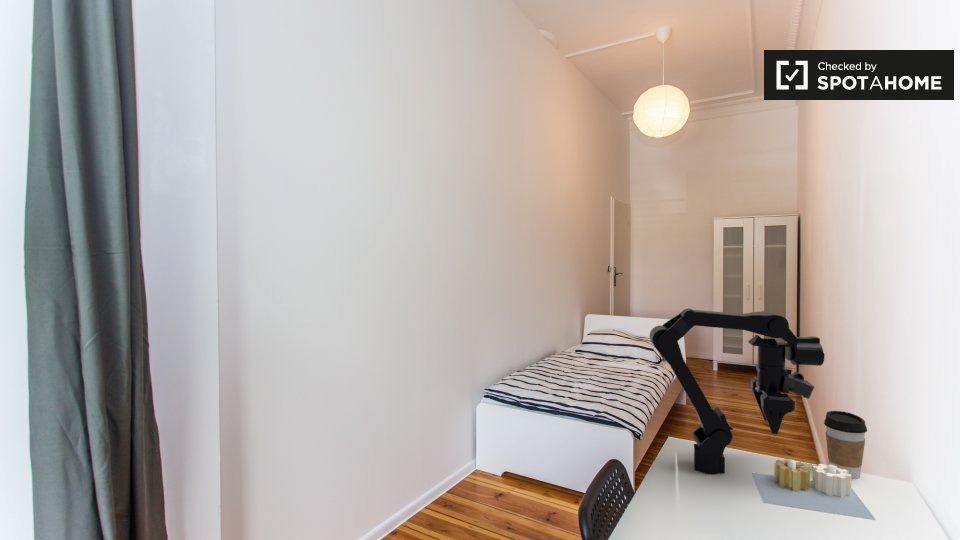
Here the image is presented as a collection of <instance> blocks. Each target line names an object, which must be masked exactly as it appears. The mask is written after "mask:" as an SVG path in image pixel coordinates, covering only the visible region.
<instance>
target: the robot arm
mask: <svg viewBox="0 0 960 540" xmlns="http://www.w3.org/2000/svg"><path fill="white" fill-rule="evenodd" d="M697 326H698V327H708V328H716V329H717V328H719V329H726V330H727V329H728V330H729V329H730V330H739V331H747V332H750V333H754V334H755V335H754V336H753V337H752V338H751V339H749V340H748V344H750V345H751V346H753V347H757V364H756V365H755V369H756V371H757V376H753V377H752V378H750V388H751V391H752V394H753V397H754V399H755V401H756V404H757V405H758V407H759V410H760V414H761V416H762V418H763V420H764V421H765V422H767V425H768V427H769V430H770V432H771V434H772V435H778V433H779V431H780V428H781V425H782V421H783V419H784V417H785V415H787V414H789V413H792V412H794V411H796V409H795V408H796V402H795V401H794V399H793V398H792V397H791V396H790V395H789V393H791V392H792V393H794V394H797V395H799V396H802V397H803V398H805V399H807V400H808V399H810V397H811V395H812V393H813V391H814V389H815V386H814V385H813V384H812V383H811V382H809V381H808V380H805V377H804V375H803V374H802V373H800V372H797V371H794V372H793V373H792V374H790V372H789V371H787V369H786V360H787V361H790V363H791V364H792V365H793V366H819V367H821V366H822V365H823V364H824V362H825V353H824V349H823V346H822V344H821V339H820V337H817V336H806V337H805V336H804V337H803V336H796V334H795V333H794V332H793V331H792V329H790V323H789V321H788V319H787V318H786V317H785V316H784V315H783V314H780V313H775V312H773V311H769V310H765V311H753V312H747V313H738V312H737V313H735V312H734V313H733V312H723V311H711V310H700V309H693V308H690V307H689V308H685V309H683V310H682V311H681V312H679V314H677V315H675V316H673V317H672V318H670V319H669V320H667V321H666V322H664V323H663V324H662V325H656V326H654V327H653V328H652V329H651V330H650V332H649V339H650V342H651V344H652V346H654V348H655V349H656V351H658V353H659V354H660V355H661V357H662V358H663V359H664V360H665V361H666V362H667V363H668V365H669V366H670V369H672V371H673V373H674V375H675V376H676V379H677V380H678V382H679V384H680V385H681V387H682V389H683V391H684V392H685V394H686V396H687V397H688V399H689V401H690V403H691V405H692V406H693V408H694V410H695V413H696V416H697V419H698V422H699V427H698V428H696V429H695V430H694V431H693V432H692V433H691V435H692V438H693V440H694V442H695V443H694V444H693V469H694V471H698V472H699V473H702V474H705V475H713V476H714V475H718V474H719V475H724V474H725V472H726V470H725V469H726V463H725V462H726V458H725V457H726V456H725V454H724V452H725V450H726V447H727V446H729V445H730V443H731V442H732V440H733V438H734V436H733V434H732V433H733V432H732V430H734V429H733V427H732V426H731V424H730V423H729V422H728V421H727V417H726V416H725V414H724V412H723V410H721V408H720V407H719V406H716V407H715V408H713V407H712V405H710V403H709V401H708V400H707V398H706V395H705V394H704V392H703V390H702V389H701V387H700V385H699V383H698V382H697V380H696V379H695V377H694V375H693V373H692V371H691V370H690V368H689V367H688V365H687V362H686V361H685V359H684V357H683V353H682V350H681V347H680V344H679V341H680V340H681V339H682V338H683V337H685V335H687V333H688V332H689V331H690V330H691V329H692V328H693V327H697ZM761 336H763V338H762V337H761ZM764 337H766V338H764ZM767 337H768V338H767ZM776 339H780V340H782V342H781V341H780V342H779V341H777V340H776ZM783 341H784V342H783Z"/></svg>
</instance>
